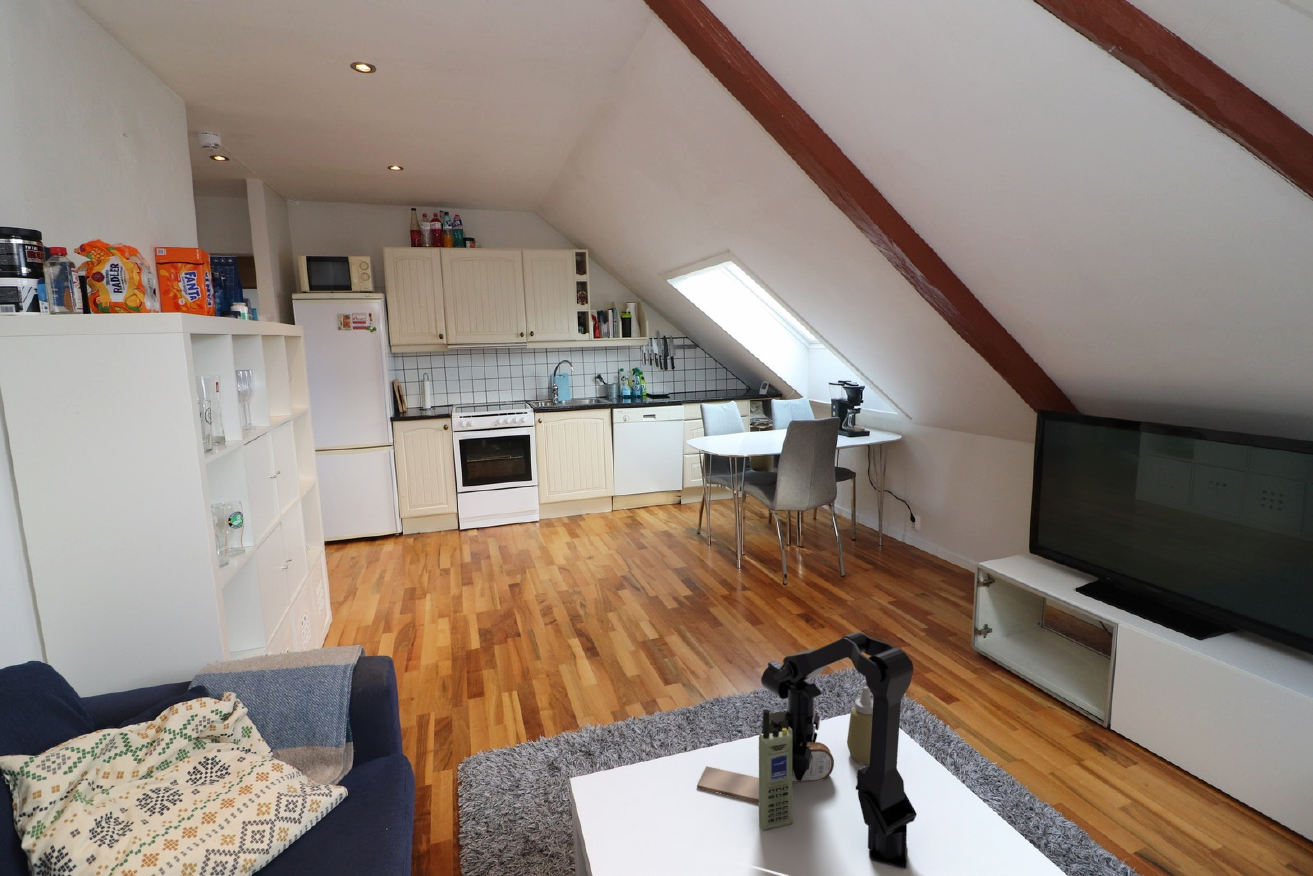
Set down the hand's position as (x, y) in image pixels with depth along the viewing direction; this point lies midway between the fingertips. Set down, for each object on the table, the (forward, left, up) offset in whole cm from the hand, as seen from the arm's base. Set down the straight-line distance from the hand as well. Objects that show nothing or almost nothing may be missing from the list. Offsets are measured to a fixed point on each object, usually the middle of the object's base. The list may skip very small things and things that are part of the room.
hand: (800, 773), depth 142 cm
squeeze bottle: (-13, -13, -2) cm, 19 cm away
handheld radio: (+3, +15, -2) cm, 15 cm away
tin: (0, 0, -2) cm, 2 cm away
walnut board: (+13, +7, -2) cm, 15 cm away
